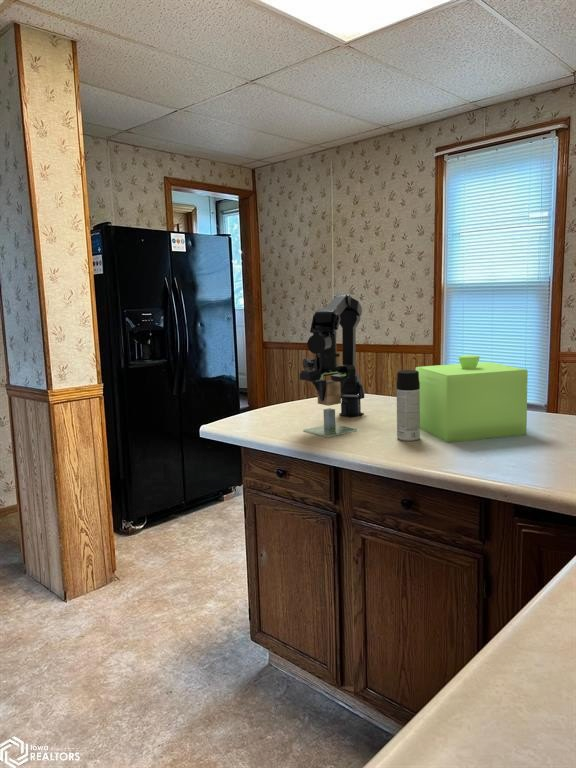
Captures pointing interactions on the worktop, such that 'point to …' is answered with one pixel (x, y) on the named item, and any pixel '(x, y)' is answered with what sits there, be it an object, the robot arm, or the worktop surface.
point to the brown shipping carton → (331, 394)
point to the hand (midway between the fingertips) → (329, 399)
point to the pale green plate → (329, 426)
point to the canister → (473, 400)
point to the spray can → (408, 405)
